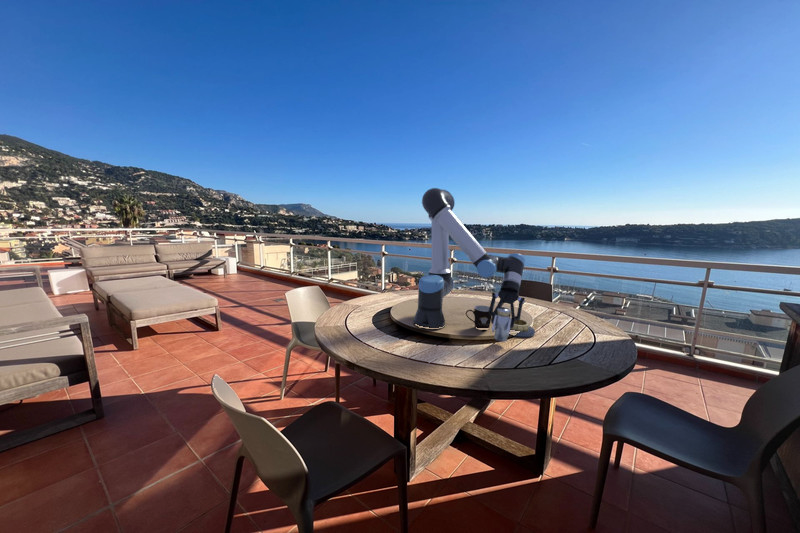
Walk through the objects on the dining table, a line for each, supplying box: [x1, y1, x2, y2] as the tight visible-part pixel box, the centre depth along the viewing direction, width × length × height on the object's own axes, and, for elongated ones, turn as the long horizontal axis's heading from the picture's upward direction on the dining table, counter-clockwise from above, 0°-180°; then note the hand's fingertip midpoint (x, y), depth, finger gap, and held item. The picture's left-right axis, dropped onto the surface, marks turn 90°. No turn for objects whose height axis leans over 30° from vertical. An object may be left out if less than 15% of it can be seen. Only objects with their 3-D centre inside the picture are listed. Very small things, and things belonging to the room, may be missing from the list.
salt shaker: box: [493, 306, 511, 343], centre depth 120 cm, size 5×5×13 cm
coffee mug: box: [465, 305, 492, 329], centre depth 138 cm, size 12×9×10 cm
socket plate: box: [510, 318, 536, 339], centre depth 136 cm, size 15×15×4 cm
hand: (500, 332), depth 117 cm, fingers closed on salt shaker, 5 cm apart
